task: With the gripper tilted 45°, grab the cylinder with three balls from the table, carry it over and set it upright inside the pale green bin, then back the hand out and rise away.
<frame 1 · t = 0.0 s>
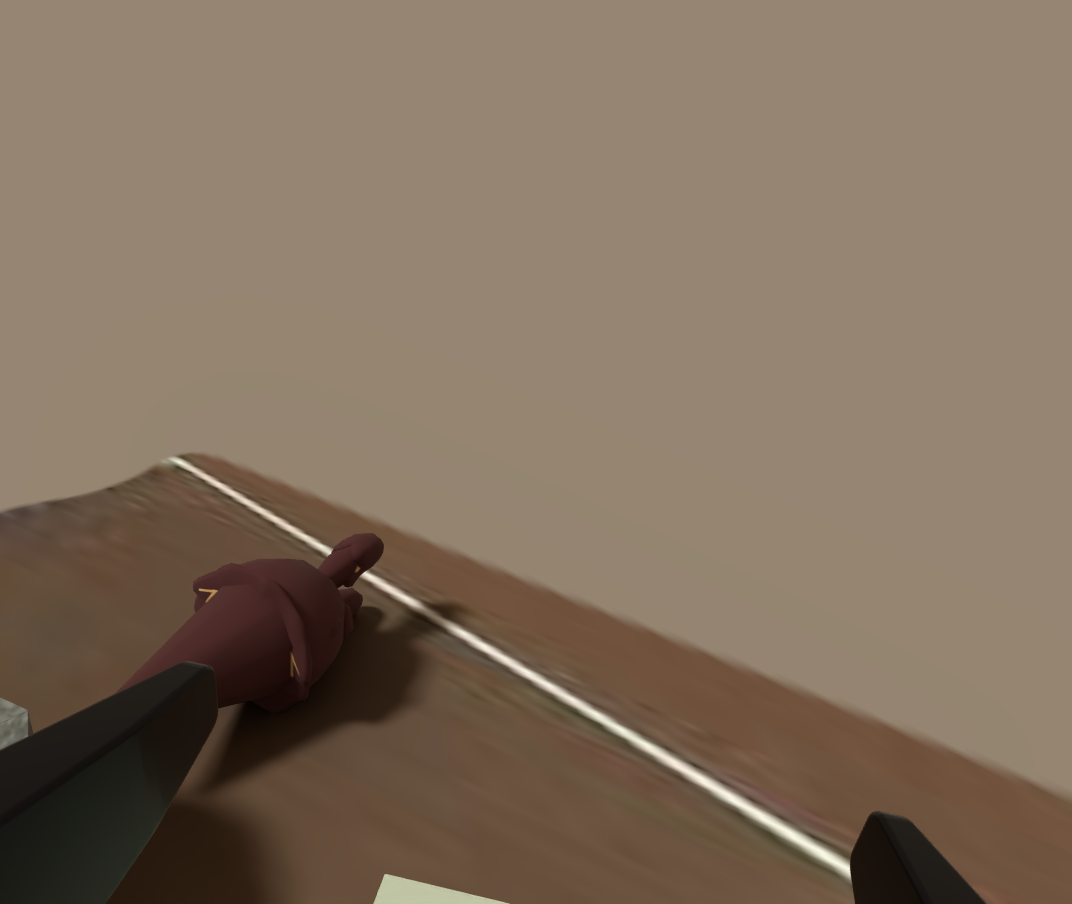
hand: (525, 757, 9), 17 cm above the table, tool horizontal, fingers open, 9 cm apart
icecream: (264, 693, 31), on the table
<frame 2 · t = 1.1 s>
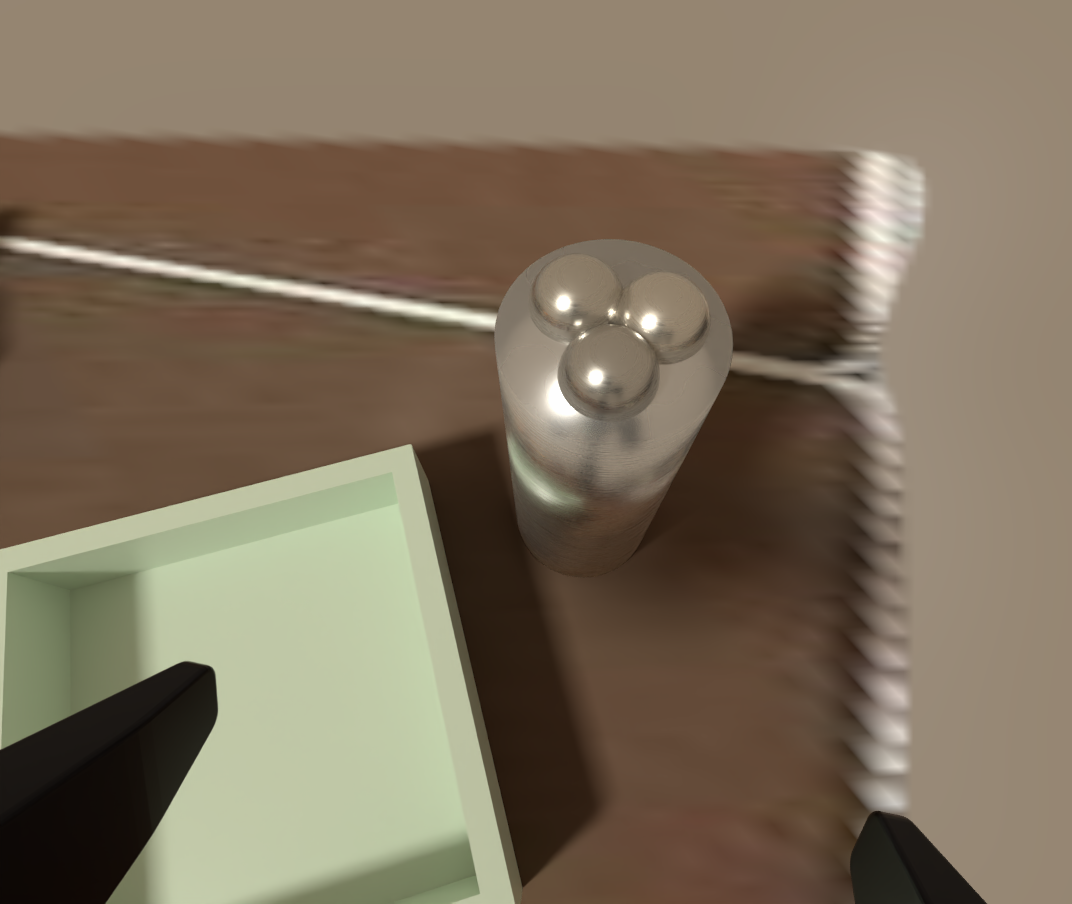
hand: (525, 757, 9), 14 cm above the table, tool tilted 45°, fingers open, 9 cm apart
cylinder with three balls: (581, 513, 24), on the table
pale green bin: (270, 719, 22), on the table
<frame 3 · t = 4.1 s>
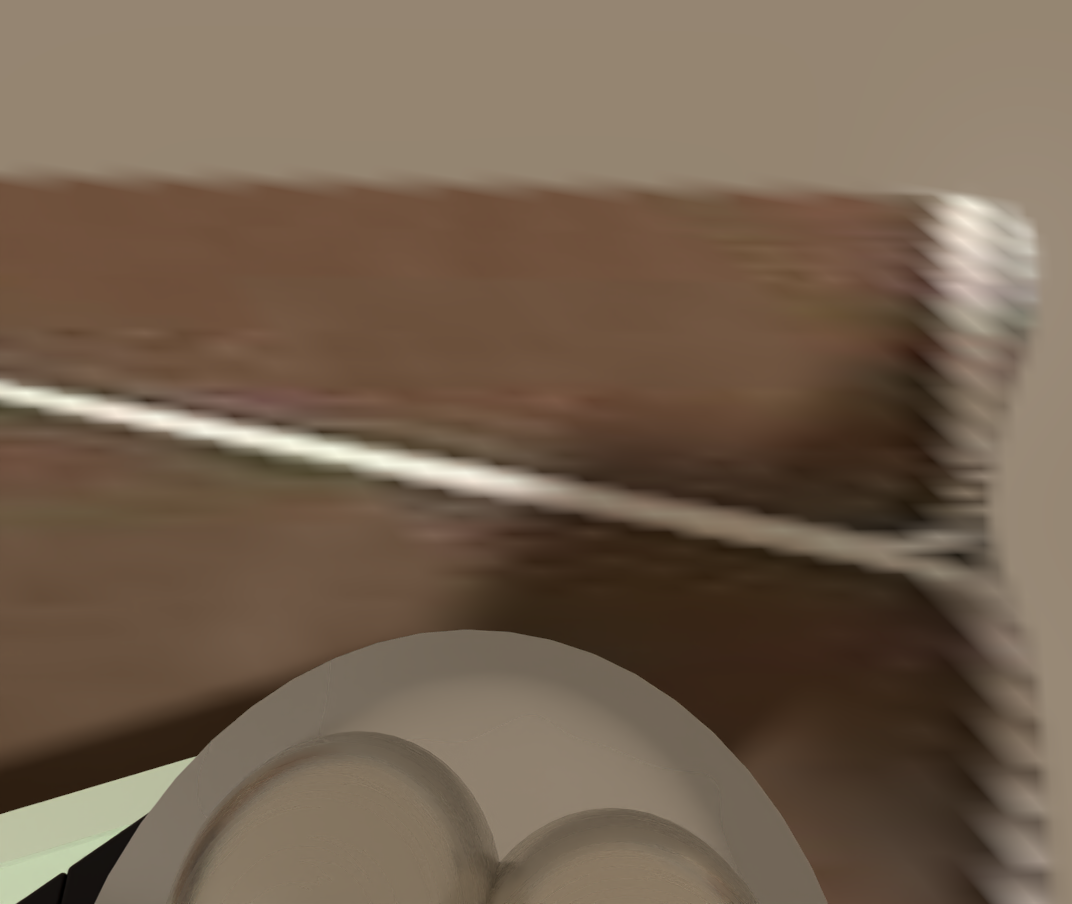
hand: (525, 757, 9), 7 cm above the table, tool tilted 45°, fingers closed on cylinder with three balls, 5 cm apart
cylinder with three balls: (520, 808, 15), on the table, touching gripper
when the fingers open (9 cm above the table, at t = 8.7 s): cylinder with three balls drops 1 cm, resting on pale green bin.
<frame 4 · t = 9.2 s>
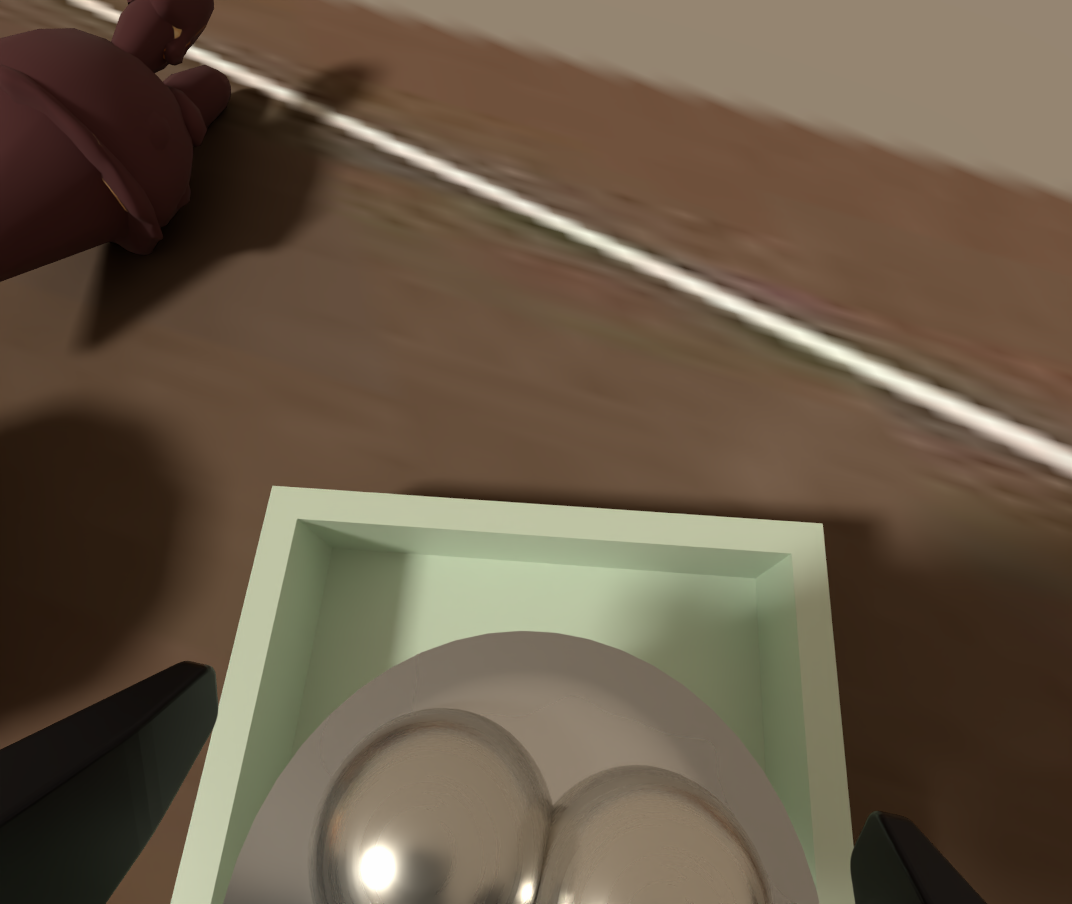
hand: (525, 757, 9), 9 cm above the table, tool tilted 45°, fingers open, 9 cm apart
icecream: (132, 230, 24), on the table
cylinder with three balls: (522, 806, 16), point 1 cm above the table, touching pale green bin
pale green bin: (524, 799, 17), on the table
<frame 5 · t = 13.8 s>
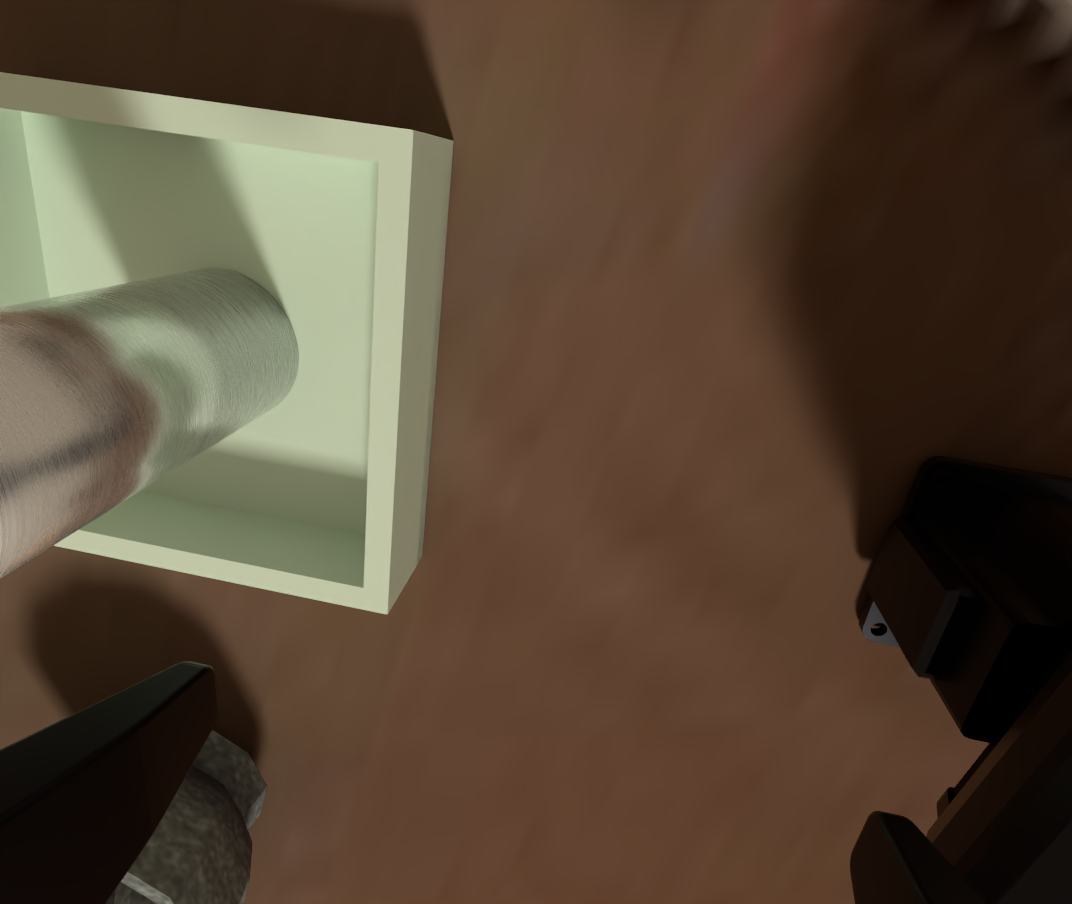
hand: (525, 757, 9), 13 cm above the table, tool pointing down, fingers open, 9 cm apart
cylinder with three balls: (226, 345, 21), point 1 cm above the table, touching pale green bin
mortar and pestle: (218, 781, 30), on the table
pale green bin: (235, 340, 21), on the table
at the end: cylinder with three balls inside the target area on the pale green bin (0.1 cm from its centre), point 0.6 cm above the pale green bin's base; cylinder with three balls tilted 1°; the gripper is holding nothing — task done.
